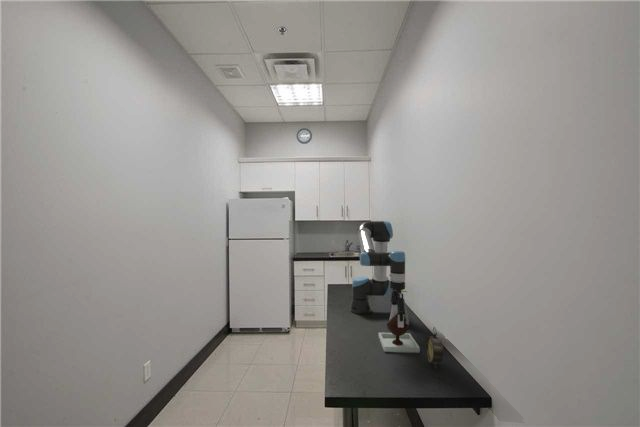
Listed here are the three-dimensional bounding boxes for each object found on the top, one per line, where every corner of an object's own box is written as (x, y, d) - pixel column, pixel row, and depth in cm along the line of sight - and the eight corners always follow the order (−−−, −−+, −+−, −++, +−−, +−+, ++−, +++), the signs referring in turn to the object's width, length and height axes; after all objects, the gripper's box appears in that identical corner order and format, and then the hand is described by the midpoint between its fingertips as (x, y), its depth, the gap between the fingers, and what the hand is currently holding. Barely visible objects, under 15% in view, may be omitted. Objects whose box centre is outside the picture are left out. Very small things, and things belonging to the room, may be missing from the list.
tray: (378, 337, 148) (378, 332, 148) (409, 337, 147) (409, 333, 147) (384, 351, 131) (384, 346, 131) (419, 352, 130) (419, 347, 130)
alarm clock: (425, 358, 125) (425, 322, 126) (437, 358, 125) (437, 323, 125) (432, 370, 115) (432, 332, 115) (446, 371, 114) (445, 332, 115)
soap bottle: (407, 328, 161) (407, 293, 162) (386, 324, 167) (386, 291, 168) (411, 321, 172) (410, 289, 173) (391, 318, 178) (391, 287, 179)
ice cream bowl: (393, 336, 148) (393, 309, 148) (412, 343, 140) (412, 314, 140) (382, 342, 140) (382, 313, 141) (402, 350, 132) (402, 319, 133)
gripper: (385, 275, 153) (385, 313, 153) (395, 286, 128) (395, 331, 128) (399, 275, 153) (399, 313, 152) (411, 287, 128) (411, 332, 127)
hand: (397, 321), depth 140 cm, fingers open, 13 cm apart
